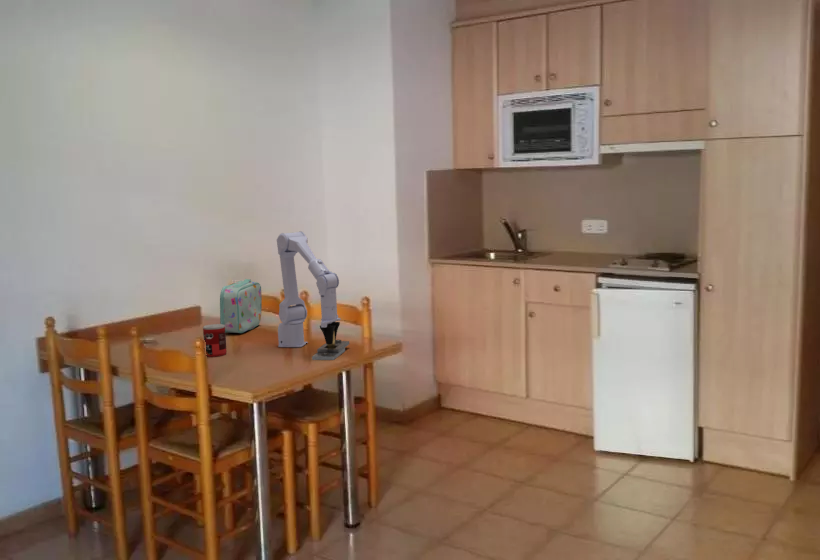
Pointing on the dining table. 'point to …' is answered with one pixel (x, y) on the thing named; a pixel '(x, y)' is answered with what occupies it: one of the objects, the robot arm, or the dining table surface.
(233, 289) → the lunch box
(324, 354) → the chain end lower
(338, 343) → the chain end upper
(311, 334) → the dining table surface
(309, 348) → the dining table surface
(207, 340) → the canned food
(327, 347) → the brass pin
